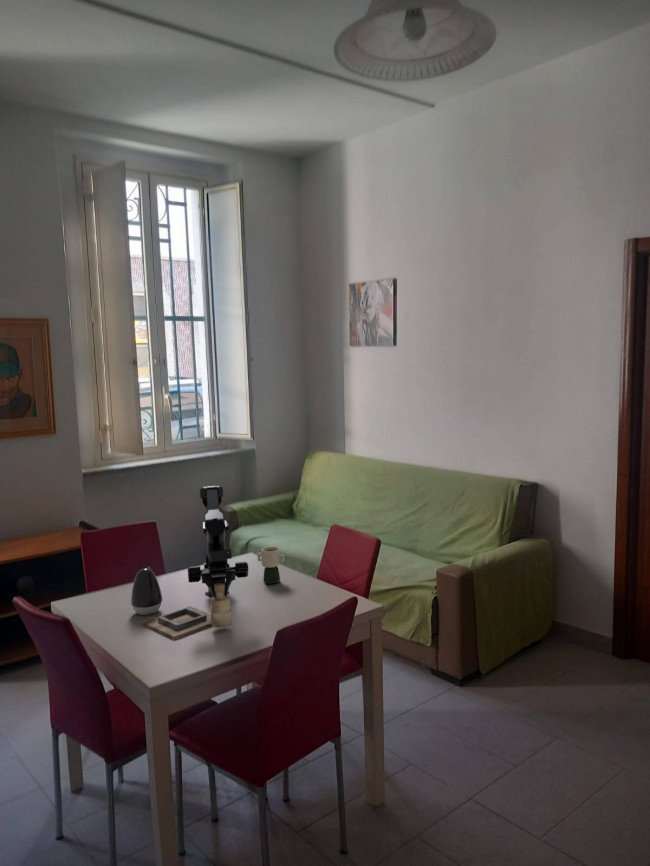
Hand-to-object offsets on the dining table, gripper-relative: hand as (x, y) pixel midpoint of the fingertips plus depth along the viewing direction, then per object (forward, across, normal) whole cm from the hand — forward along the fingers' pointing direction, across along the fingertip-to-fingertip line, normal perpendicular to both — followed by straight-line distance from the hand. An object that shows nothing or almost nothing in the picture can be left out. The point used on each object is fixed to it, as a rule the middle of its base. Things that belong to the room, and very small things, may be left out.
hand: (220, 596), depth 203 cm
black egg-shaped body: (-9, -24, +25) cm, 36 cm away
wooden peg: (+6, 0, +7) cm, 9 cm away
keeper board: (+1, -12, +15) cm, 19 cm away
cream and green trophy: (-22, +21, +38) cm, 48 cm away
